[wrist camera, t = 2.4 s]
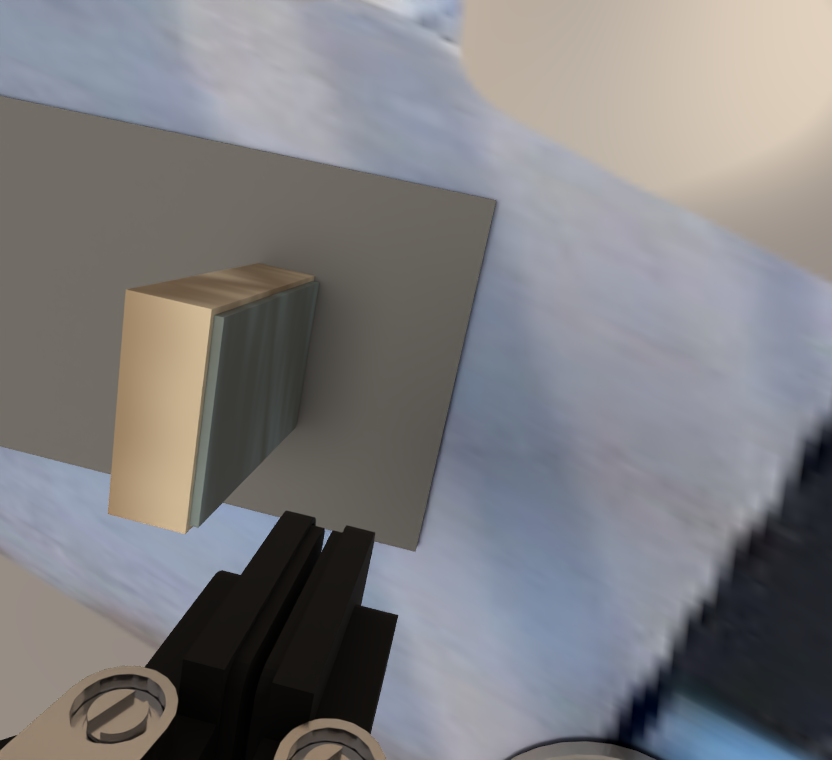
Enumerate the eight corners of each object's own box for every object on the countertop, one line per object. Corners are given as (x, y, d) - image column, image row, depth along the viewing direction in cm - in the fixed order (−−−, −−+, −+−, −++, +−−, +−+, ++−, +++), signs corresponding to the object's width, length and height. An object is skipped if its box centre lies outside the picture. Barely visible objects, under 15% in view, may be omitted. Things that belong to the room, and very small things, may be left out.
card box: (321, 277, 27) (222, 311, 18) (296, 429, 29) (194, 536, 19) (258, 263, 27) (125, 289, 18) (237, 415, 29) (108, 514, 20)
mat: (496, 200, 26) (496, 200, 25) (417, 545, 30) (415, 551, 30) (-49, 85, 28) (-60, 83, 27) (-50, 427, 32) (-60, 430, 31)
